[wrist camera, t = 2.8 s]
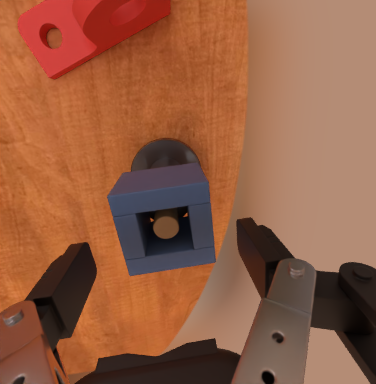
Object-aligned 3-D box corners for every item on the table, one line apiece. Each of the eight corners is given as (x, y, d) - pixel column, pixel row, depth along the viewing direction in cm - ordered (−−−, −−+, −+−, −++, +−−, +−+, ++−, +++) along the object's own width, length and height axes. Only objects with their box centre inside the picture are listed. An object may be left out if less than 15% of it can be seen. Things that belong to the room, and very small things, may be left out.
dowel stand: (196, 133, 23) (223, 159, 12) (203, 198, 26) (230, 267, 15) (125, 143, 23) (85, 178, 12) (139, 208, 26) (118, 285, 15)
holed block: (198, 161, 16) (208, 181, 12) (205, 227, 18) (216, 263, 14) (122, 172, 16) (106, 196, 12) (138, 237, 18) (129, 276, 14)
